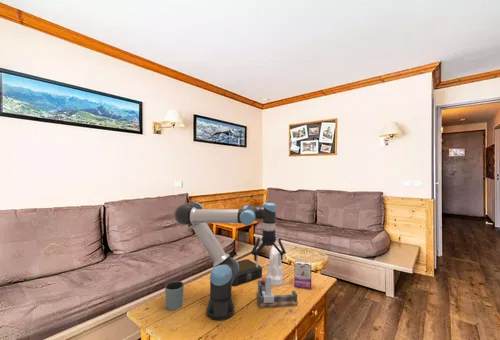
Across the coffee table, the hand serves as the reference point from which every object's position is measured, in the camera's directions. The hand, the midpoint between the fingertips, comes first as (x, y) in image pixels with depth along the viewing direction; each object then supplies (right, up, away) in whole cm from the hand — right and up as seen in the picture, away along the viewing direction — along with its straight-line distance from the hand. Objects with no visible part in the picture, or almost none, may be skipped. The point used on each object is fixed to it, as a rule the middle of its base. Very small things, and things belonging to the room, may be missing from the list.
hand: (268, 265), depth 136 cm
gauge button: (-2, -14, +9) cm, 17 cm away
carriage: (0, -20, 0) cm, 20 cm away
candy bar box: (+25, -23, +20) cm, 39 cm away
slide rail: (+5, -22, +1) cm, 23 cm away
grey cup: (-54, -21, -4) cm, 58 cm away
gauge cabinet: (-2, -22, +9) cm, 24 cm away
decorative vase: (+7, -22, +26) cm, 35 cm away
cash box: (-17, -22, +34) cm, 44 cm away
